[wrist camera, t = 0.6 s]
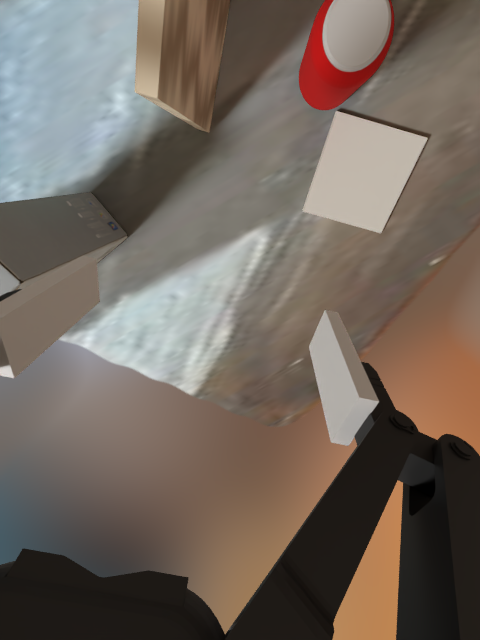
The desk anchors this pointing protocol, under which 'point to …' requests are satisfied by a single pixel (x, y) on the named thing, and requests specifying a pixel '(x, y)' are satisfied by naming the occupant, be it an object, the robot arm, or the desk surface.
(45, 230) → the hard drive box
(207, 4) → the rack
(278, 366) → the desk surface
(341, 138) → the felt pad
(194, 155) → the desk surface
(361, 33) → the beverage can
